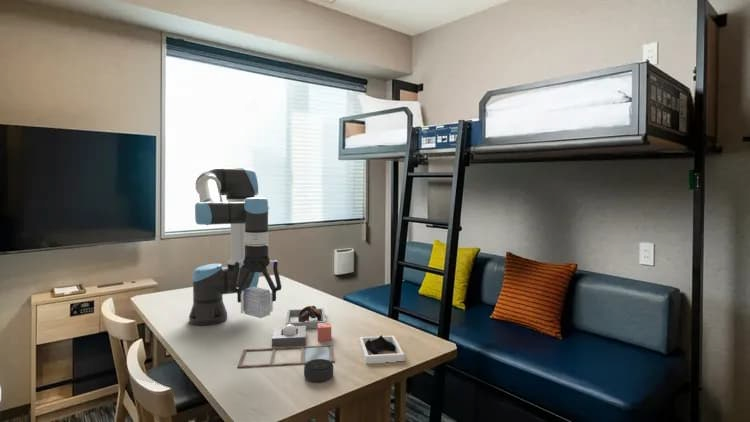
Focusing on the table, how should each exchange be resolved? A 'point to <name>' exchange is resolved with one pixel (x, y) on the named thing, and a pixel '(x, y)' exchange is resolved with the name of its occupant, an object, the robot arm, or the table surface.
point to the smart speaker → (318, 370)
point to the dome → (289, 330)
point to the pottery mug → (309, 314)
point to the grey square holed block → (289, 337)
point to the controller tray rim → (381, 357)
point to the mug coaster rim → (308, 324)
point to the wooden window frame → (311, 351)
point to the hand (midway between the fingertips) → (257, 311)
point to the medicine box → (257, 302)
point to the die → (324, 331)
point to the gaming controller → (378, 345)
